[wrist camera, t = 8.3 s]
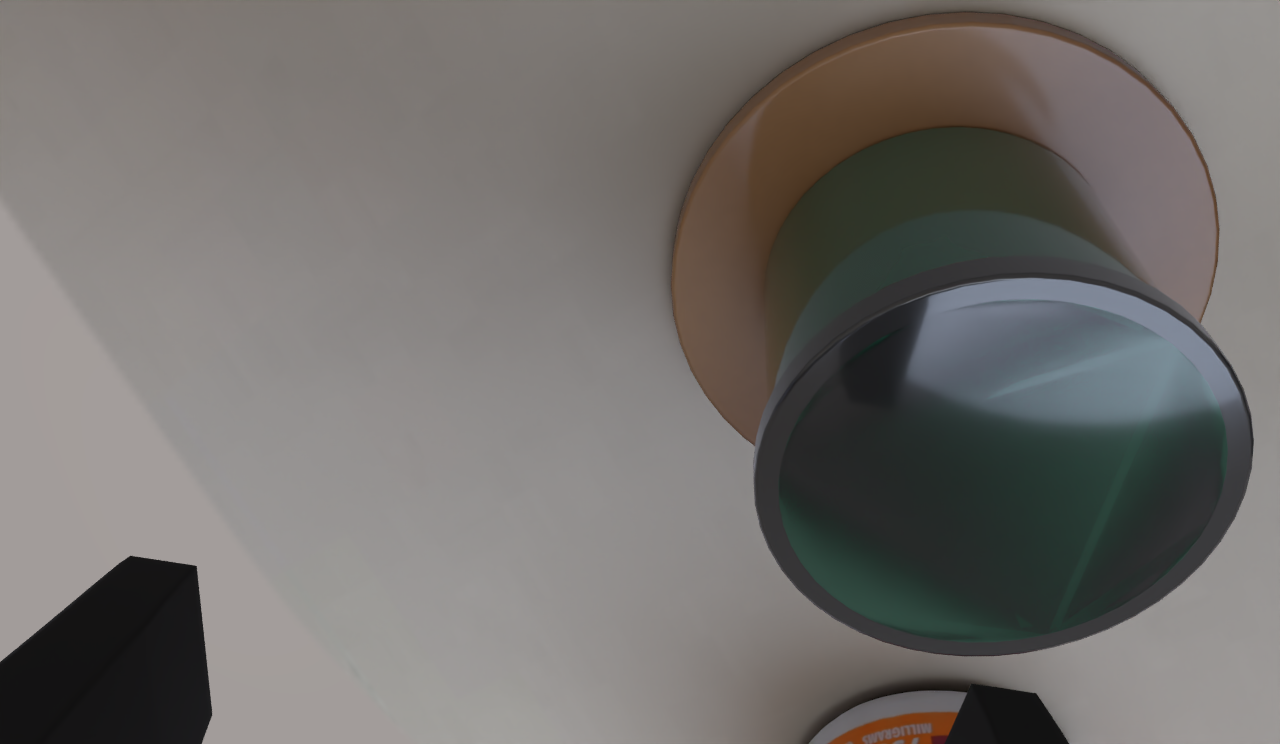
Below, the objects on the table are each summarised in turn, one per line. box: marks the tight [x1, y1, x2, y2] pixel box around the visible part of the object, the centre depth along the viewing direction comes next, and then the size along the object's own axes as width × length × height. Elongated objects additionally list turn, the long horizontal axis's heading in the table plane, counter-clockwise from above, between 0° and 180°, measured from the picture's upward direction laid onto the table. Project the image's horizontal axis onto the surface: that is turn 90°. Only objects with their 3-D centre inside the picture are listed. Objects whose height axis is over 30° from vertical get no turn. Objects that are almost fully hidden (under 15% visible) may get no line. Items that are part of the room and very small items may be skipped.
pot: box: [753, 127, 1254, 656], centre depth 16 cm, size 6×6×5 cm
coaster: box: [671, 12, 1219, 446], centre depth 18 cm, size 8×8×1 cm
